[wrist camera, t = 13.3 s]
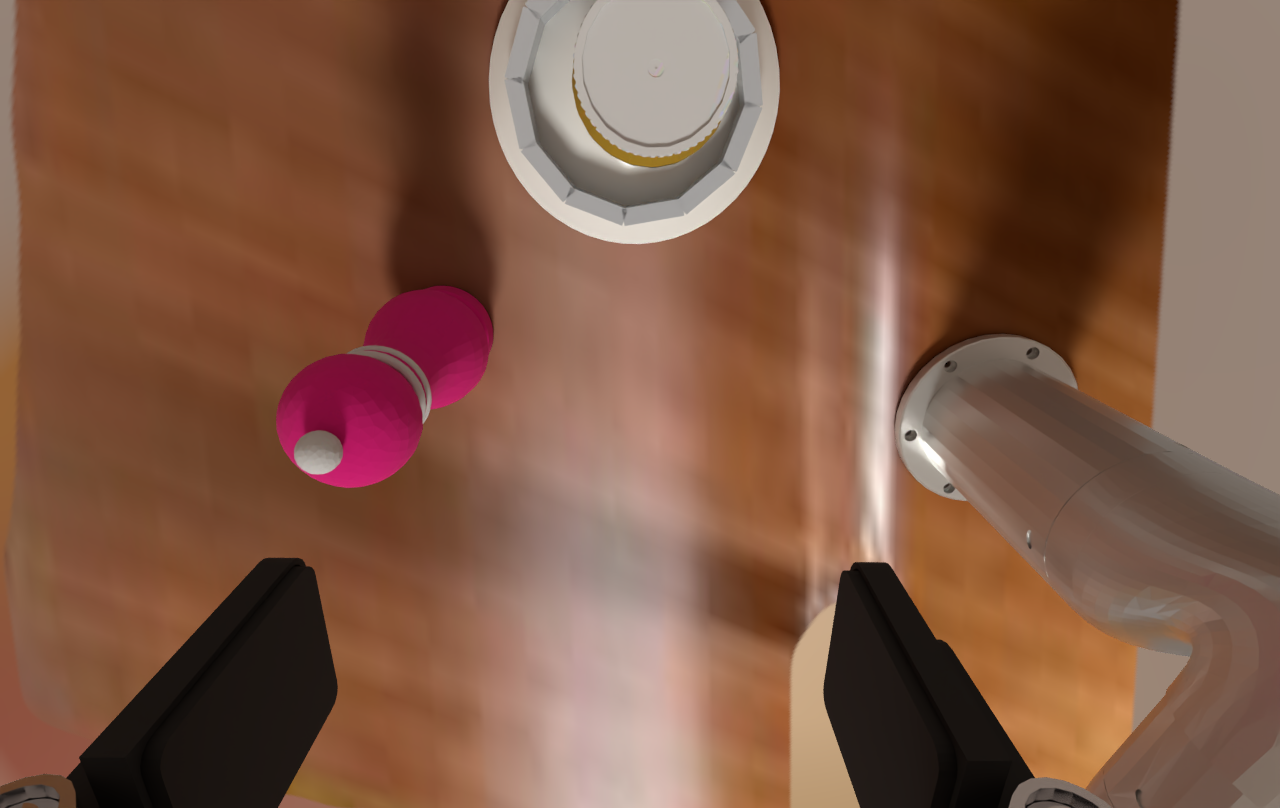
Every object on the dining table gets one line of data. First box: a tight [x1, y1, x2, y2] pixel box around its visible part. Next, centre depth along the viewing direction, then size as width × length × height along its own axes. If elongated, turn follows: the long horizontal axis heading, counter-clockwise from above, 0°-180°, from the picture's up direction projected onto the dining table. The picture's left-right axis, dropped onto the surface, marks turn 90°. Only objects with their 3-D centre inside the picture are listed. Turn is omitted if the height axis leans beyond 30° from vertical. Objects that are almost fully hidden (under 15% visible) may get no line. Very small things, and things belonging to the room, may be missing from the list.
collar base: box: [489, 0, 780, 244], centre depth 37 cm, size 17×17×3 cm
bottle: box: [572, 0, 739, 168], centre depth 30 cm, size 7×7×15 cm
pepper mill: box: [276, 286, 493, 488], centre depth 34 cm, size 7×7×20 cm
